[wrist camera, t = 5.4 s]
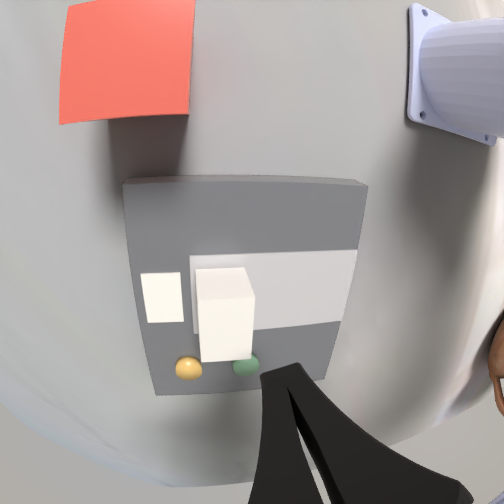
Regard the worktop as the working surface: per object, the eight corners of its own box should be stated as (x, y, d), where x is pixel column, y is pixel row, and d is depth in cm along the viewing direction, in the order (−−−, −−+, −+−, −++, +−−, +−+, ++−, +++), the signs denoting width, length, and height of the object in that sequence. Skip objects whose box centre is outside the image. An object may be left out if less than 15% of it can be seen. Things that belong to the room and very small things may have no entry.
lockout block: (193, 37, 12) (196, -9, 6) (189, 114, 13) (187, 113, 8) (111, 42, 11) (68, 6, 6) (108, 119, 13) (59, 124, 7)
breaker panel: (354, 179, 16) (374, 189, 14) (317, 365, 22) (327, 384, 20) (128, 177, 14) (119, 187, 12) (156, 379, 20) (155, 402, 18)
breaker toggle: (244, 267, 15) (255, 297, 13) (241, 324, 17) (250, 358, 14) (195, 269, 15) (197, 300, 12) (198, 327, 16) (201, 362, 14)
